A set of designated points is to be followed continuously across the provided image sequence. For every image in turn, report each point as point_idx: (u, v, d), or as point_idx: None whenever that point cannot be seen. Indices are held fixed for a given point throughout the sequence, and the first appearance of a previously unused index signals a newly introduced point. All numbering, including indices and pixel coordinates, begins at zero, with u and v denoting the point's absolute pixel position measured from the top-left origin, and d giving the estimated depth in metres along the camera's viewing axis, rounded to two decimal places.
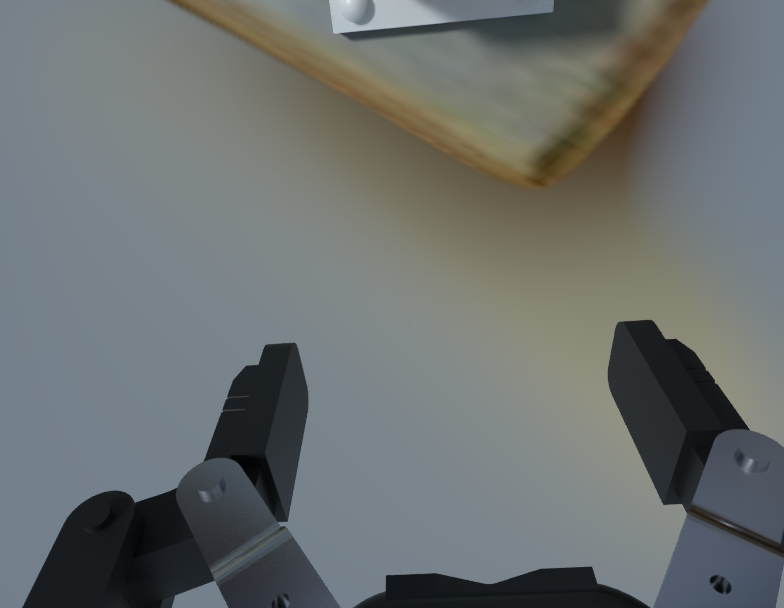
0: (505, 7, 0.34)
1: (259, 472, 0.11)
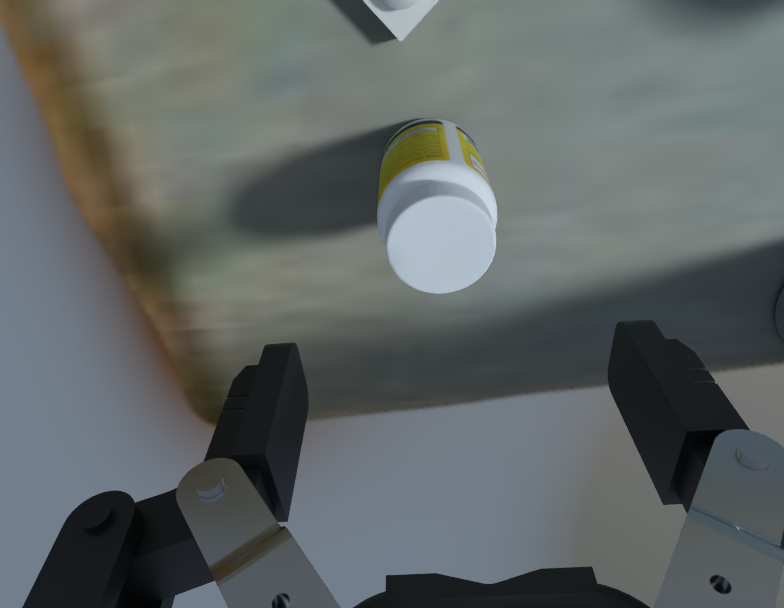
0: None
1: (259, 472, 0.11)
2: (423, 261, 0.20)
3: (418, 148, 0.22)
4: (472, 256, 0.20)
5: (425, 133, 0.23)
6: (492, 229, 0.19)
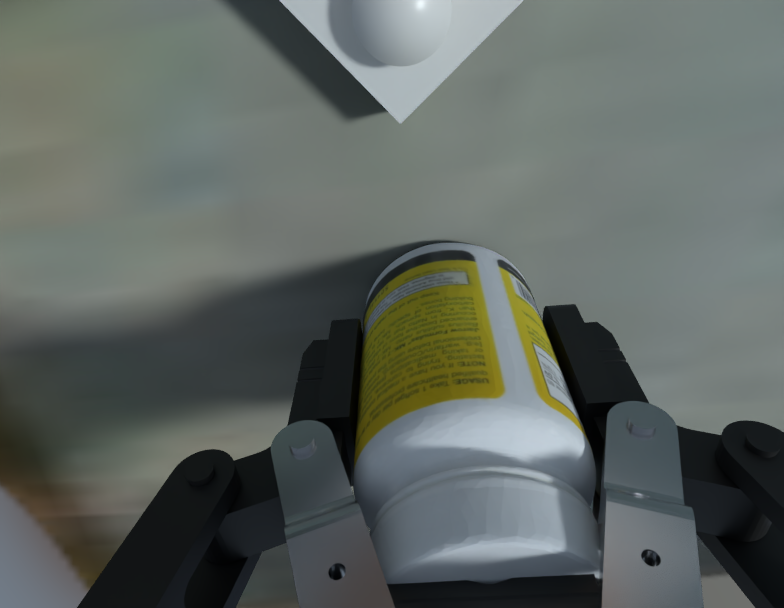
0: None
1: (342, 435, 0.11)
2: None
3: (435, 341, 0.11)
4: None
5: (446, 291, 0.12)
6: None
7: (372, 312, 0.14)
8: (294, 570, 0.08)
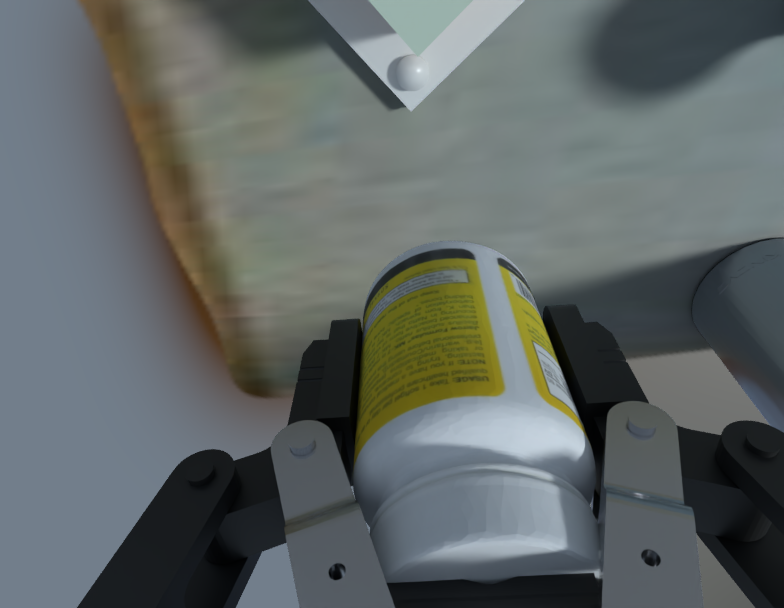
0: None
1: (342, 435, 0.11)
2: None
3: (435, 340, 0.11)
4: None
5: (446, 289, 0.12)
6: None
7: (372, 310, 0.14)
8: (294, 570, 0.08)
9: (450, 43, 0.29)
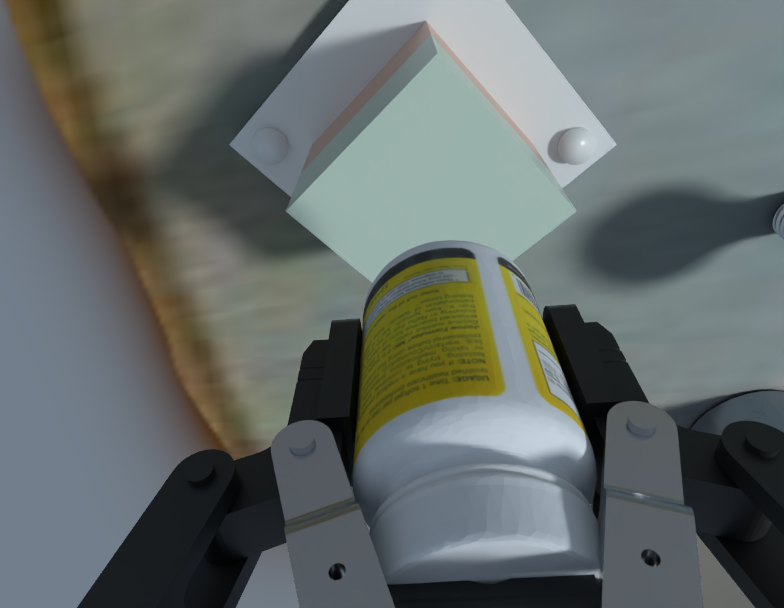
0: (273, 109, 0.27)
1: (342, 435, 0.11)
2: None
3: (435, 339, 0.11)
4: None
5: (446, 288, 0.12)
6: None
7: (372, 310, 0.13)
8: (294, 570, 0.08)
9: None
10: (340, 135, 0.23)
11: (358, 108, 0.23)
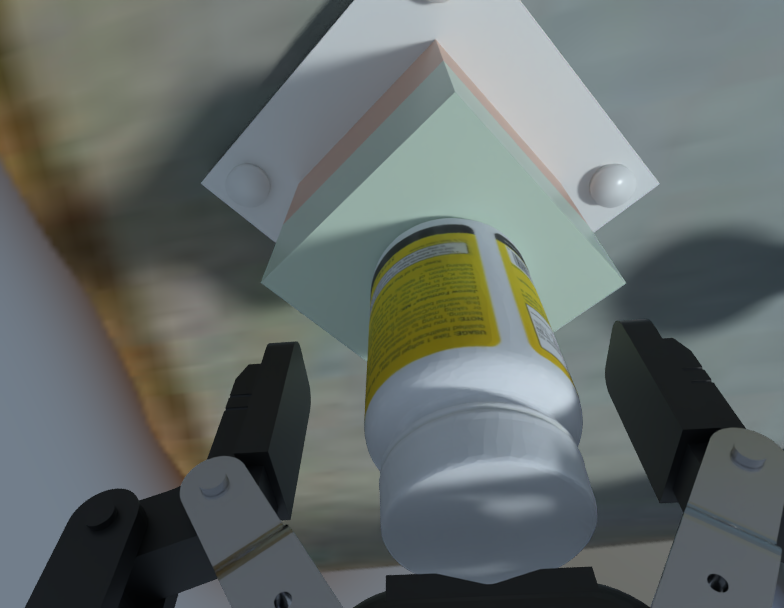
0: (252, 143, 0.22)
1: (262, 470, 0.11)
2: (454, 549, 0.10)
3: (438, 301, 0.12)
4: (548, 544, 0.10)
5: (447, 259, 0.13)
6: (593, 507, 0.09)
7: (379, 281, 0.15)
8: None
9: None
10: (330, 183, 0.18)
11: (353, 147, 0.19)
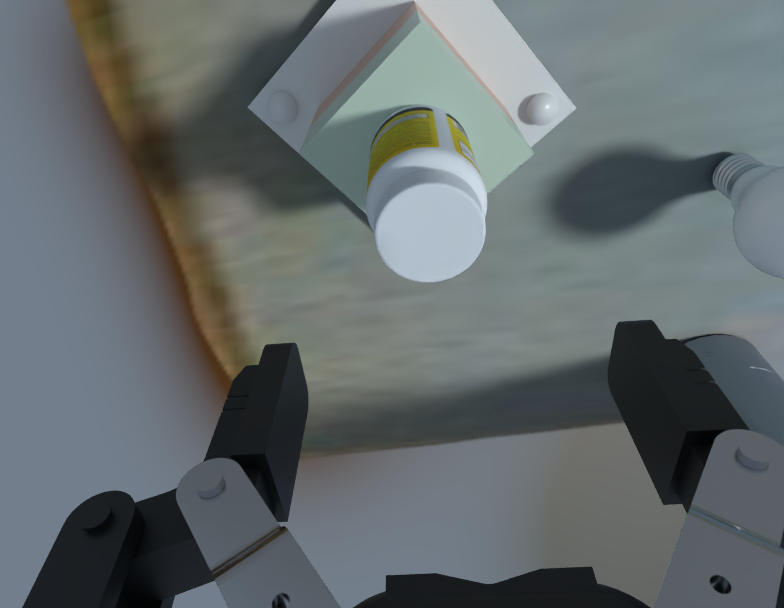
0: (285, 76, 0.32)
1: (259, 472, 0.11)
2: (412, 249, 0.19)
3: (407, 135, 0.21)
4: (461, 245, 0.19)
5: (415, 120, 0.23)
6: (481, 217, 0.19)
7: (375, 141, 0.24)
8: None
9: None
10: (343, 93, 0.27)
11: (357, 72, 0.28)
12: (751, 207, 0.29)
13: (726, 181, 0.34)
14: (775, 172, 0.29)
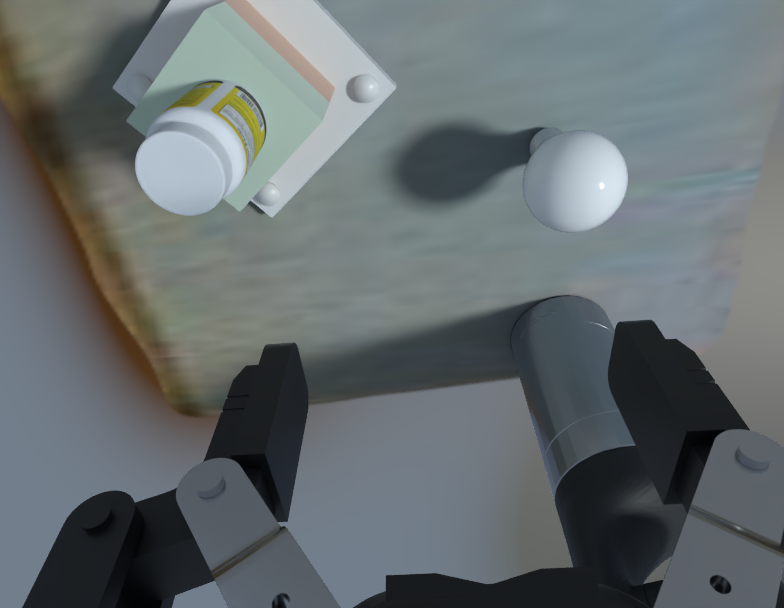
0: (141, 60, 0.37)
1: (259, 472, 0.11)
2: (169, 187, 0.24)
3: (182, 99, 0.26)
4: (207, 183, 0.24)
5: (199, 89, 0.28)
6: (216, 159, 0.24)
7: None
8: None
9: (292, 175, 0.41)
10: None
11: None
12: (527, 169, 0.34)
13: (534, 152, 0.39)
14: (547, 139, 0.34)
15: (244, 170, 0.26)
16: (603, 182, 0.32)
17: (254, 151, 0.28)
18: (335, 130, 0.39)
